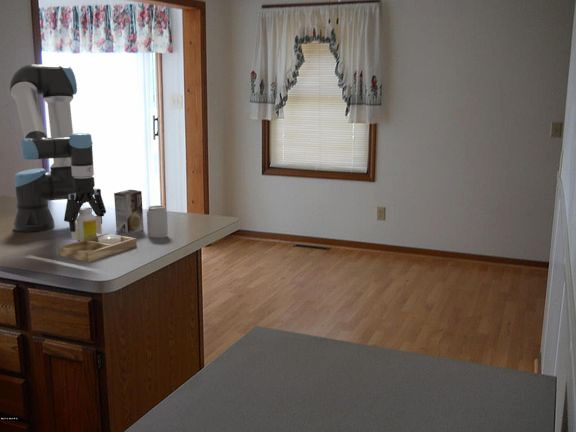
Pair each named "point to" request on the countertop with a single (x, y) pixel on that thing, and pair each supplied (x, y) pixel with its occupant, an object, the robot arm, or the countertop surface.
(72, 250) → the rack
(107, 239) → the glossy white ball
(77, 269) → the countertop surface
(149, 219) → the can
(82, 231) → the supplement bottle
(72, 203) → the robot arm
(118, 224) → the coffee box
